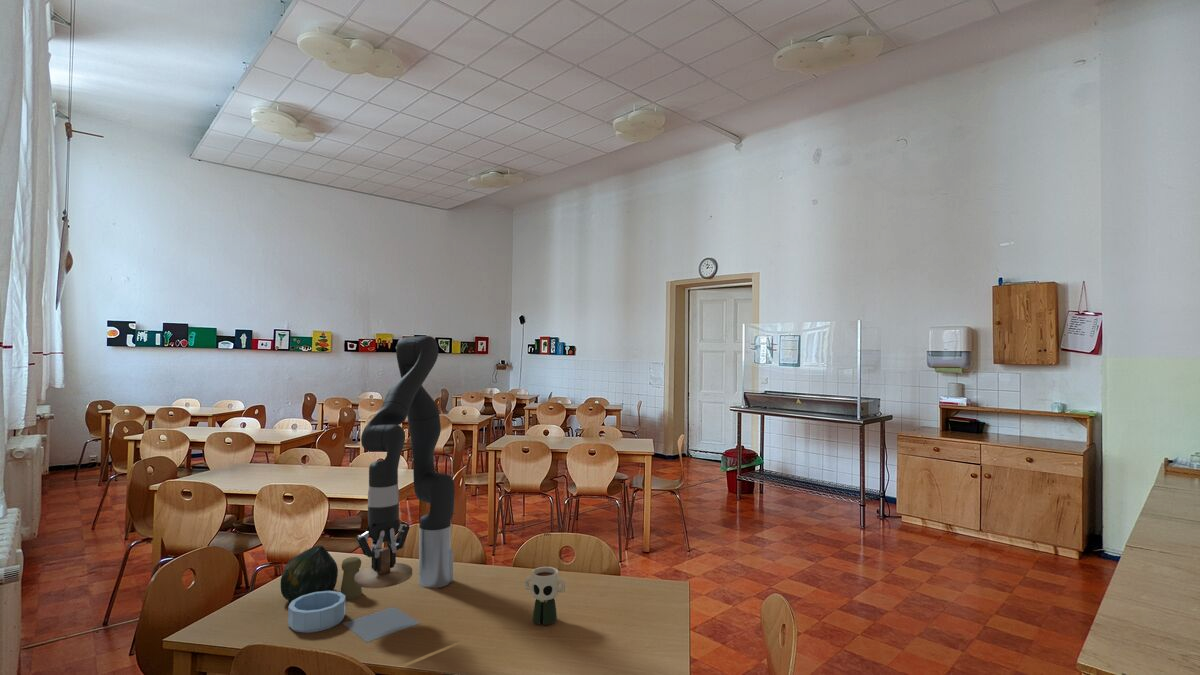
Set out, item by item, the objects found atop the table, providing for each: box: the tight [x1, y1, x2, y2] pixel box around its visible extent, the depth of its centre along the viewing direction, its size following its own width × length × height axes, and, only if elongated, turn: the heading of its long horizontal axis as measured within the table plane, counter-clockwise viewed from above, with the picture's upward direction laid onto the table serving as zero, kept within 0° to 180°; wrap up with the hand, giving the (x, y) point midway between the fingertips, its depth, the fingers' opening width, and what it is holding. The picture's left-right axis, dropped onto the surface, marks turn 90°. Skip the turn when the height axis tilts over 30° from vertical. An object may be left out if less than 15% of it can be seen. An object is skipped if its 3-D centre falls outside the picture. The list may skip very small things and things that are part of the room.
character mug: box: [524, 566, 566, 626], centre depth 155 cm, size 11×7×13 cm, turn 79°
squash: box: [280, 544, 339, 601], centre depth 170 cm, size 14×15×15 cm
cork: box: [340, 556, 363, 600], centre depth 169 cm, size 6×6×11 cm
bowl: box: [287, 590, 347, 634], centre depth 153 cm, size 13×13×6 cm
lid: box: [354, 547, 413, 589], centre depth 152 cm, size 14×14×7 cm
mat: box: [342, 606, 421, 643], centre depth 152 cm, size 14×14×1 cm
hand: (383, 568), depth 152 cm, fingers closed on lid, 3 cm apart
